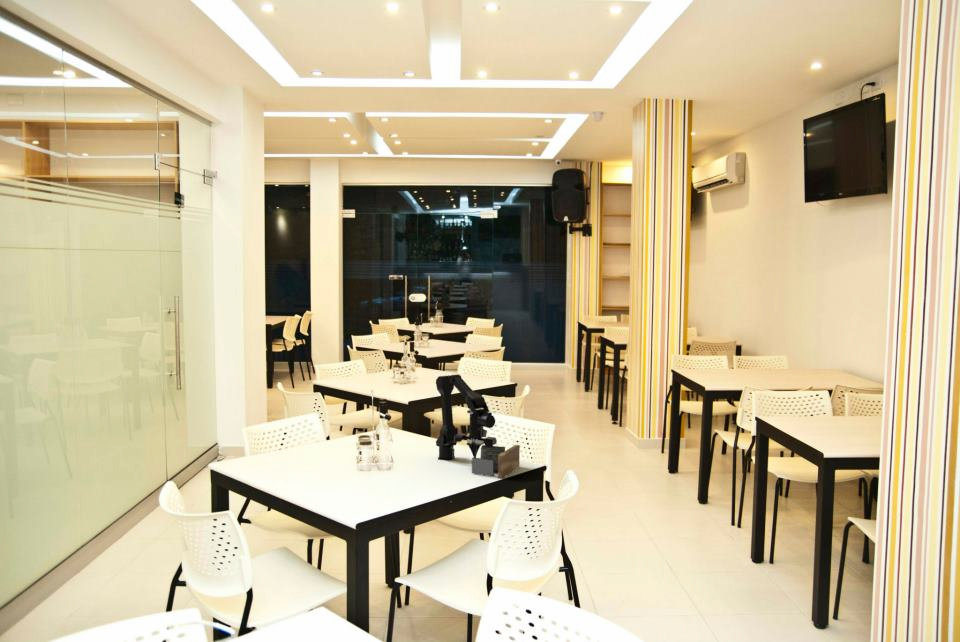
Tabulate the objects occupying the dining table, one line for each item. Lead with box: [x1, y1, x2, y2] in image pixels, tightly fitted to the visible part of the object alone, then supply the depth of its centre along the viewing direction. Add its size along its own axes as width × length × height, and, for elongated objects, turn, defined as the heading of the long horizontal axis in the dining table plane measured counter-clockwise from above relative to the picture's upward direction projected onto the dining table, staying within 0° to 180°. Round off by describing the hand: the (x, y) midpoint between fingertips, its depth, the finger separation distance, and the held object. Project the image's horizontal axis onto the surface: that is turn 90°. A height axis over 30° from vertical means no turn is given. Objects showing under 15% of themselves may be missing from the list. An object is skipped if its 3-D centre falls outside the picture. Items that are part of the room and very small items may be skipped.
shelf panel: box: [497, 444, 521, 480], centre depth 308 cm, size 2×22×10 cm, turn 158°
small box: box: [480, 444, 506, 473], centre depth 311 cm, size 11×6×10 cm, turn 82°
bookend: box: [471, 457, 495, 477], centre depth 304 cm, size 10×1×7 cm, turn 67°
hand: (474, 458), depth 315 cm, fingers closed
